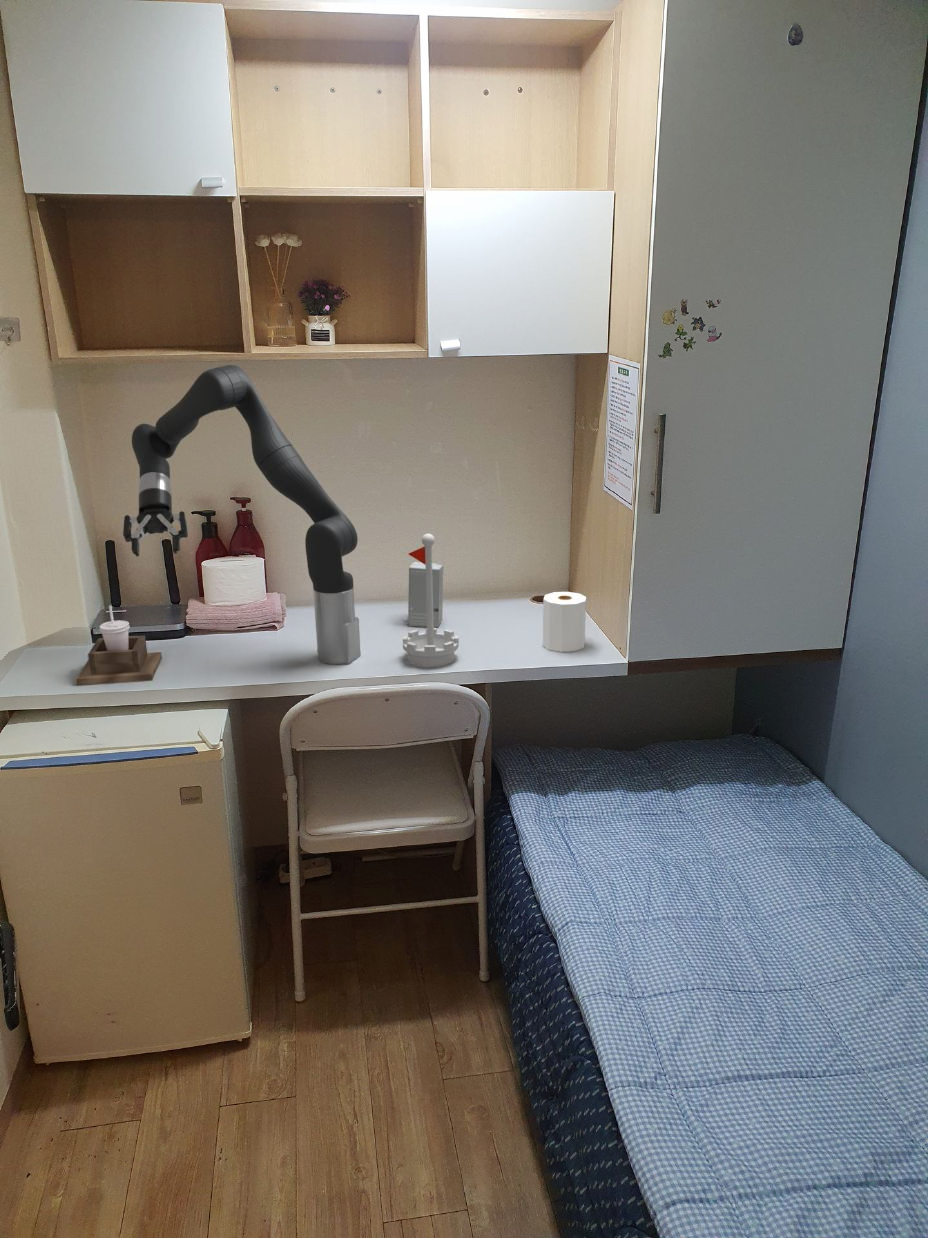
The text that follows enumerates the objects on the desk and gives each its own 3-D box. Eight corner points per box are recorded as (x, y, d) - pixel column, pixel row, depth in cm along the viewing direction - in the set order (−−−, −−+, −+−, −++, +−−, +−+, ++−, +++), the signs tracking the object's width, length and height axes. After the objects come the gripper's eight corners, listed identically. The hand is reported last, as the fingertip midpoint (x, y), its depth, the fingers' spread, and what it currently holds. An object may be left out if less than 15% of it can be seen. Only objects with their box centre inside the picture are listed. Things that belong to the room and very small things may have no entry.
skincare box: (408, 627, 234) (406, 567, 229) (413, 618, 241) (411, 560, 236) (440, 628, 233) (439, 568, 228) (444, 619, 239) (443, 561, 234)
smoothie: (125, 657, 211) (116, 600, 207) (140, 663, 207) (132, 605, 203) (99, 665, 206) (90, 607, 202) (114, 672, 203) (105, 612, 198)
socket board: (161, 657, 215) (158, 632, 213) (152, 680, 202) (148, 653, 200) (91, 662, 213) (87, 636, 210) (76, 685, 199) (72, 657, 197)
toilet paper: (587, 652, 215) (589, 603, 212) (544, 652, 215) (545, 604, 211) (582, 637, 225) (583, 591, 221) (540, 638, 225) (541, 591, 221)
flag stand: (467, 652, 216) (465, 529, 206) (445, 671, 205) (443, 542, 195) (417, 645, 221) (414, 525, 211) (393, 664, 209) (389, 538, 200)
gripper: (120, 488, 213) (120, 547, 206) (183, 484, 216) (185, 542, 209) (127, 506, 220) (127, 564, 213) (188, 502, 222) (190, 559, 215)
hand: (156, 553), depth 211 cm, fingers open, 8 cm apart
